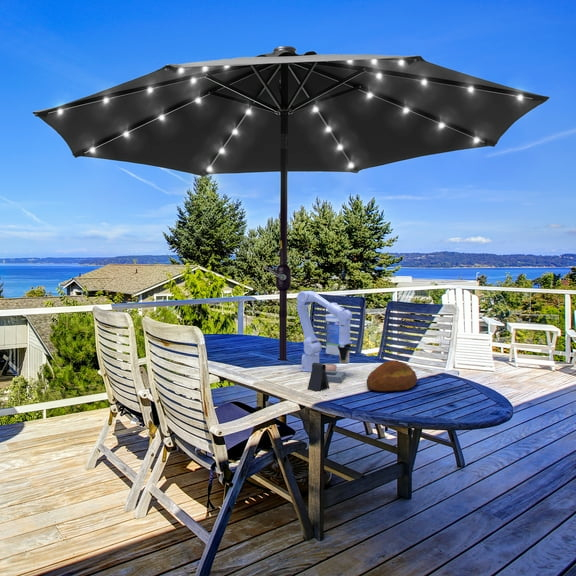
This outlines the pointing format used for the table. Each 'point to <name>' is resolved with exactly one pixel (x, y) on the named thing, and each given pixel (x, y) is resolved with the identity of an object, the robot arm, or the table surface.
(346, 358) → the square peg
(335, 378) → the socket block
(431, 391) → the table surface
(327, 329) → the string lights box
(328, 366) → the round peg
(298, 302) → the robot arm
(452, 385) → the table surface
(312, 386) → the phone stand
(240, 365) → the table surface
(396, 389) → the bread
